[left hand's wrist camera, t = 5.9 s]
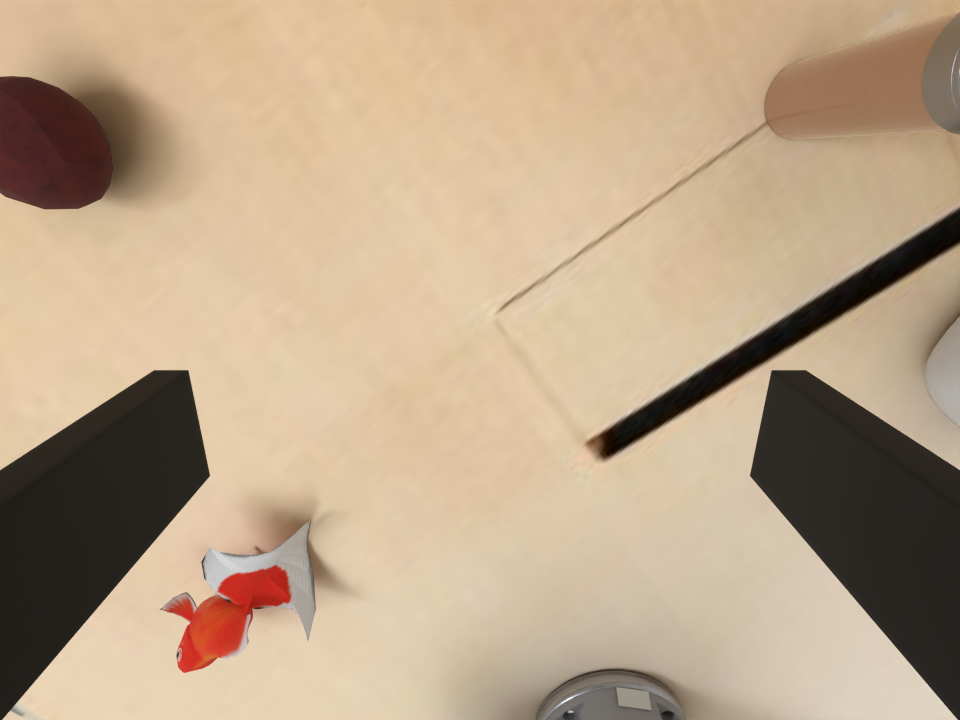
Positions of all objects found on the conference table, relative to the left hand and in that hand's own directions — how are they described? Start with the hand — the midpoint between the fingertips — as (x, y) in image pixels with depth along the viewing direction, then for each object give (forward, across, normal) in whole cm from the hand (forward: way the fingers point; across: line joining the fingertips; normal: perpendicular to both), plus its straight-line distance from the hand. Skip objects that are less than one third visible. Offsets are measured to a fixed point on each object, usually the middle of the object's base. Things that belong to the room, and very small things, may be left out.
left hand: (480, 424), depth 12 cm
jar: (+28, -21, -9) cm, 36 cm away
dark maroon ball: (+28, +27, -6) cm, 39 cm away
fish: (+28, +20, +28) cm, 44 cm away
